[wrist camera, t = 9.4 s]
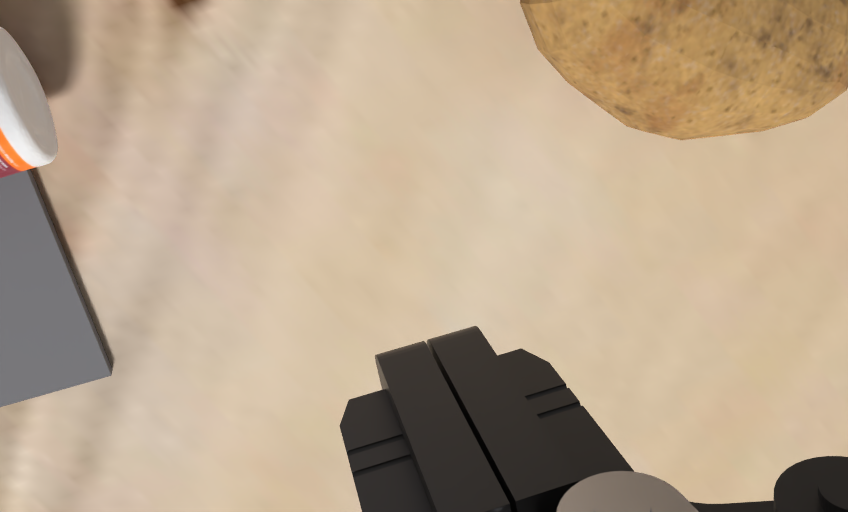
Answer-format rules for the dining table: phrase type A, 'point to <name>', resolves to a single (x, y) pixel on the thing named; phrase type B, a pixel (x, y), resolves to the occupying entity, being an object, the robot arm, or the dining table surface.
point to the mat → (40, 303)
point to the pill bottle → (22, 113)
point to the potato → (697, 60)
